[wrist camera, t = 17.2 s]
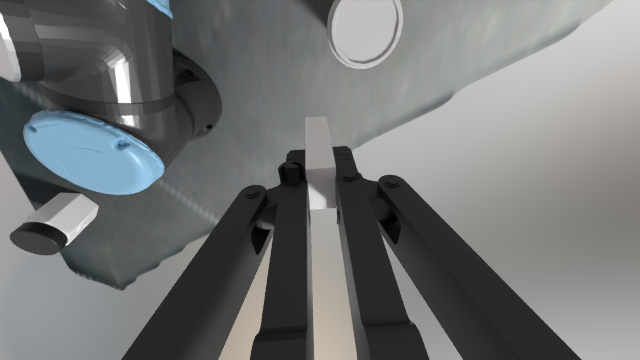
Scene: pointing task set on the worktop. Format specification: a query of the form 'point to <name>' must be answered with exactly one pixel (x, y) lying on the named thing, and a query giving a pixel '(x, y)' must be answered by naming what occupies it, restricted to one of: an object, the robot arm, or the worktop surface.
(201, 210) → the worktop surface
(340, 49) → the disposable coffee cup
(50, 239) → the jar
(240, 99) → the worktop surface
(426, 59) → the worktop surface
